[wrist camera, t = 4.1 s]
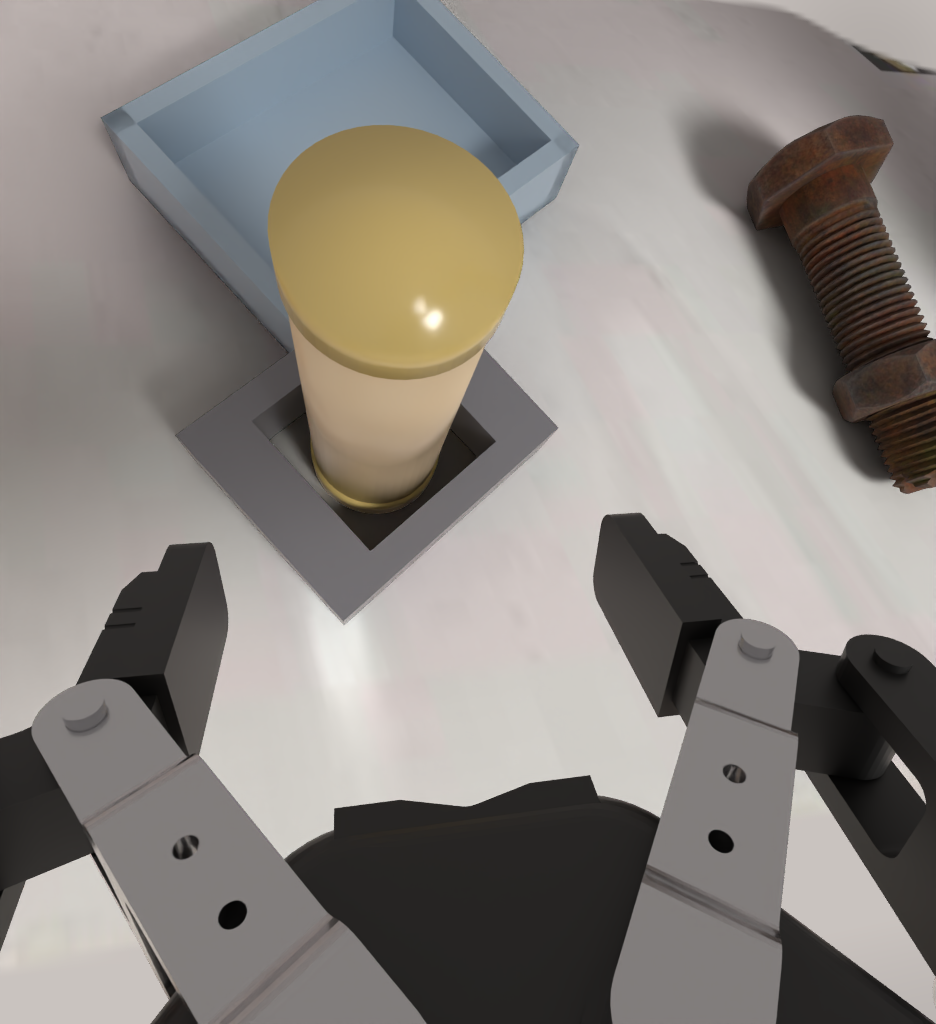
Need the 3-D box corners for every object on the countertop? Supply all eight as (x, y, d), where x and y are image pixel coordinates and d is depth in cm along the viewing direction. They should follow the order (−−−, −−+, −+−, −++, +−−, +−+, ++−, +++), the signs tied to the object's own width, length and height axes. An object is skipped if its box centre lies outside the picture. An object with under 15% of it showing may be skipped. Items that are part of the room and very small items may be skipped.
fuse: (380, 374, 25) (408, 85, 12) (460, 460, 25) (572, 257, 12) (285, 447, 23) (210, 207, 11) (370, 539, 23) (390, 401, 11)
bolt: (855, 506, 29) (741, 218, 31) (979, 469, 28) (851, 169, 30) (897, 500, 24) (755, 150, 26) (1053, 453, 23) (891, 86, 24)
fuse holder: (402, 303, 26) (407, 267, 23) (538, 449, 25) (558, 427, 23) (193, 459, 23) (175, 435, 20) (344, 625, 22) (343, 621, 20)
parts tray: (393, 28, 28) (397, -43, 26) (555, 197, 28) (579, 145, 25) (130, 180, 25) (100, 117, 22) (313, 379, 24) (308, 341, 21)
